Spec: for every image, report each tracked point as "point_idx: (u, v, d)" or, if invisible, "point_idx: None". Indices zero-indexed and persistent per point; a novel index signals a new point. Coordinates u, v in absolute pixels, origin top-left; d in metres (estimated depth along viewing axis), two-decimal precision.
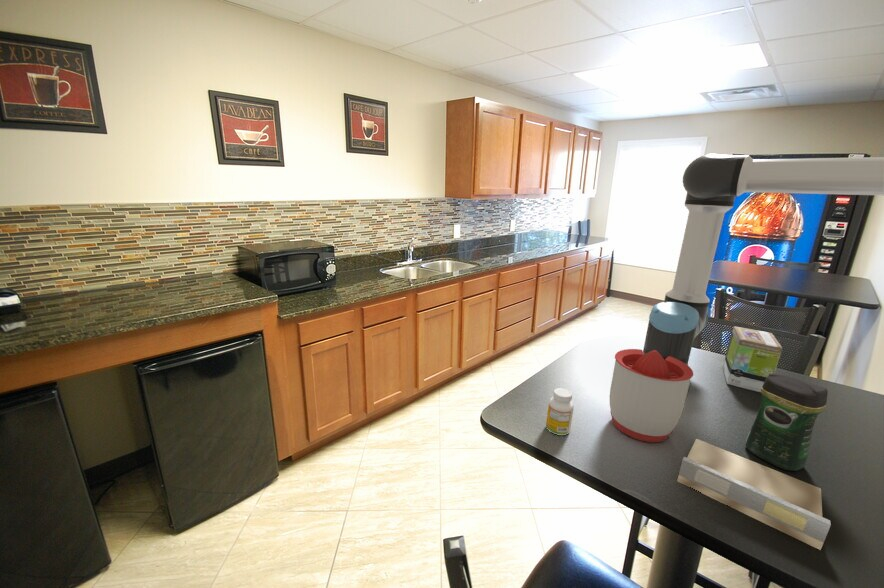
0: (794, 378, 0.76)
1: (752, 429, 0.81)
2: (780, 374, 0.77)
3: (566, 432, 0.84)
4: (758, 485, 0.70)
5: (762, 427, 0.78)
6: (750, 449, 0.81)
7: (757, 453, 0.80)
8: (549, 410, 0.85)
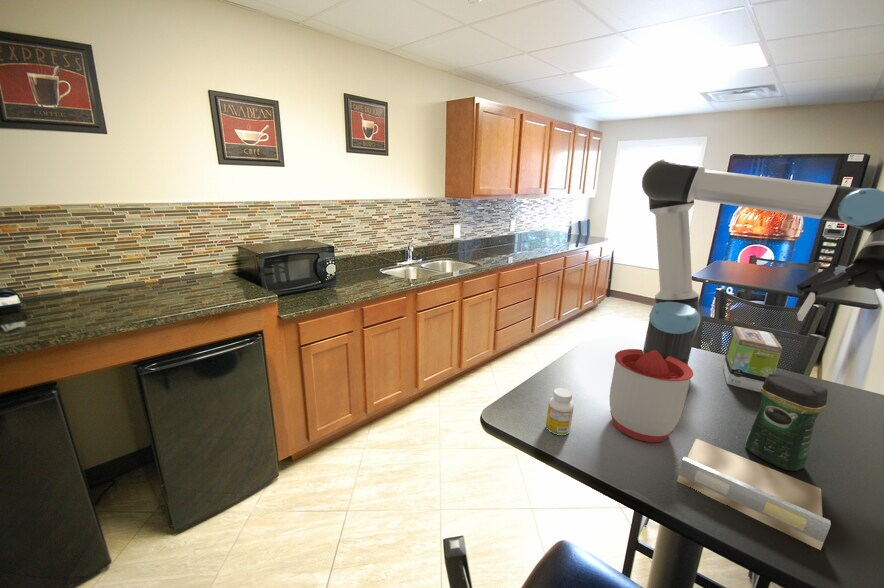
0: (794, 378, 0.76)
1: (752, 429, 0.81)
2: (780, 375, 0.77)
3: (566, 432, 0.84)
4: (758, 485, 0.70)
5: (762, 427, 0.78)
6: (750, 449, 0.81)
7: (757, 453, 0.80)
8: (549, 410, 0.85)
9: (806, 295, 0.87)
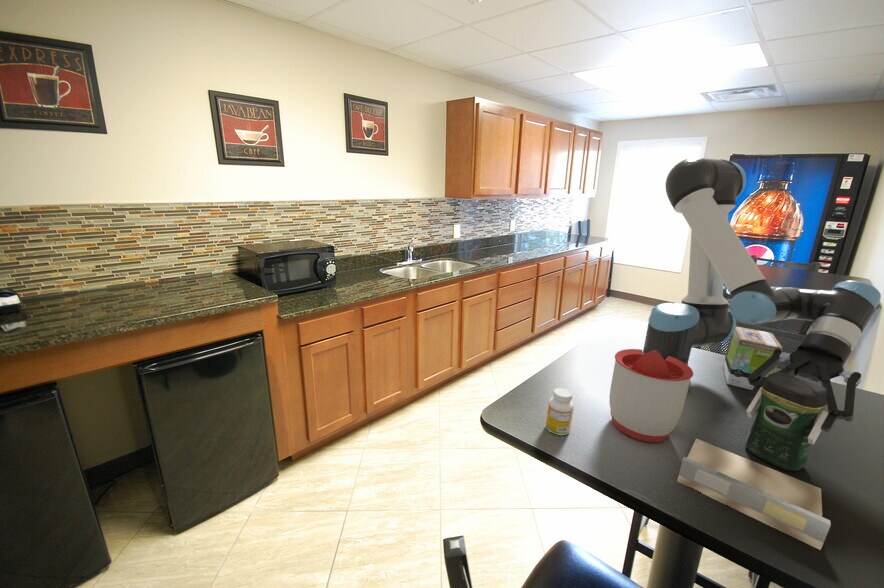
0: (794, 378, 0.76)
1: (752, 429, 0.81)
2: (780, 374, 0.77)
3: (566, 432, 0.84)
4: (758, 485, 0.70)
5: (762, 427, 0.78)
6: (750, 449, 0.81)
7: (757, 453, 0.80)
8: (549, 410, 0.85)
9: (756, 389, 0.82)
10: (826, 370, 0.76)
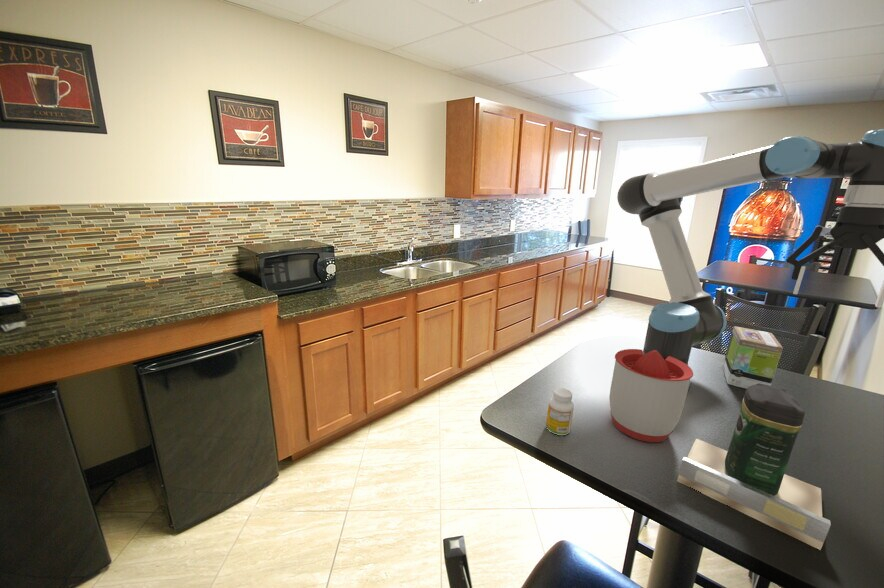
0: (774, 391, 0.67)
1: None
2: (767, 386, 0.69)
3: (566, 432, 0.84)
4: None
5: None
6: (725, 459, 0.75)
7: (725, 462, 0.74)
8: (549, 410, 0.85)
9: (797, 269, 0.90)
10: (872, 241, 0.80)
